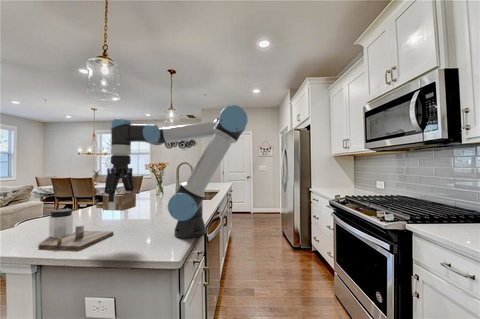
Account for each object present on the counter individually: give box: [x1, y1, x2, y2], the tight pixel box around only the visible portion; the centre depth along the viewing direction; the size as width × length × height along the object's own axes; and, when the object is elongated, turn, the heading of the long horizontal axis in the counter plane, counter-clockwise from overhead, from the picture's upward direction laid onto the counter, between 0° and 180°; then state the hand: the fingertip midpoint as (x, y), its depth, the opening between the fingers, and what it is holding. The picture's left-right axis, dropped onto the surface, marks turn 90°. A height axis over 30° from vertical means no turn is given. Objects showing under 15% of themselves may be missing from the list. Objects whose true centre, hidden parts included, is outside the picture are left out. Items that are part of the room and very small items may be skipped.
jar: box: [48, 208, 74, 239], centre depth 108 cm, size 9×8×12 cm
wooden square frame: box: [95, 192, 137, 212], centre depth 96 cm, size 14×9×6 cm, turn 84°
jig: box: [38, 225, 114, 251], centre depth 99 cm, size 18×20×6 cm
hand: (120, 207), depth 96 cm, fingers closed on wooden square frame, 9 cm apart
